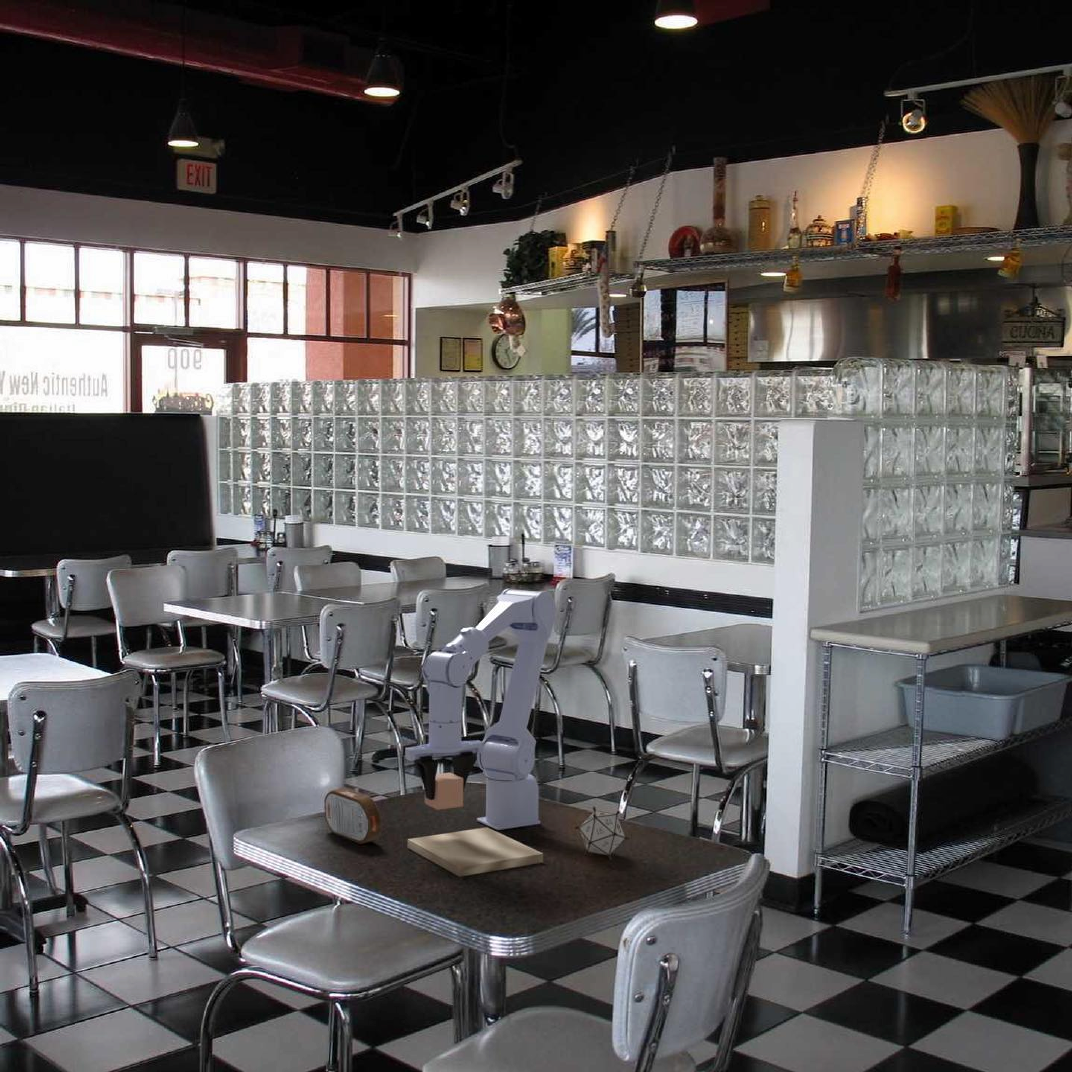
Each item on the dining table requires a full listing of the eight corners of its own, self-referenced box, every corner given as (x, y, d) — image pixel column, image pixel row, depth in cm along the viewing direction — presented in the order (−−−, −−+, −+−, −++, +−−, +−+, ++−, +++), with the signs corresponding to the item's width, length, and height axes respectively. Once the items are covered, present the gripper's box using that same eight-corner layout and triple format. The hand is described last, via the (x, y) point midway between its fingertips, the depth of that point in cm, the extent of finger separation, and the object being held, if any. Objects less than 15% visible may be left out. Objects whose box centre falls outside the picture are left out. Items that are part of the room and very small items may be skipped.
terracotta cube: (449, 800, 234) (450, 772, 234) (462, 806, 230) (463, 778, 230) (424, 803, 232) (425, 775, 232) (437, 809, 227) (437, 781, 227)
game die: (591, 874, 227) (574, 820, 232) (638, 858, 226) (620, 804, 231) (582, 862, 219) (565, 807, 224) (630, 845, 219) (612, 790, 224)
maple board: (487, 835, 237) (487, 827, 237) (542, 862, 221) (543, 853, 221) (407, 847, 228) (407, 839, 228) (459, 876, 212) (459, 867, 212)
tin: (382, 846, 230) (383, 798, 229) (367, 849, 228) (368, 801, 227) (335, 828, 241) (335, 782, 240) (320, 831, 239) (321, 785, 238)
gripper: (470, 713, 237) (470, 787, 238) (398, 719, 230) (397, 796, 230) (489, 719, 231) (488, 795, 232) (415, 726, 224) (414, 805, 224)
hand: (444, 796), depth 231 cm, fingers closed on terracotta cube, 5 cm apart
